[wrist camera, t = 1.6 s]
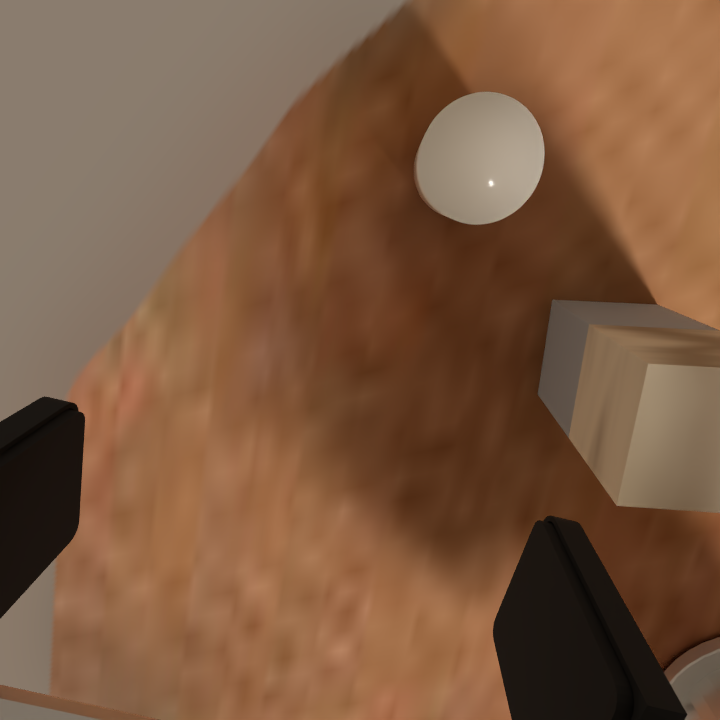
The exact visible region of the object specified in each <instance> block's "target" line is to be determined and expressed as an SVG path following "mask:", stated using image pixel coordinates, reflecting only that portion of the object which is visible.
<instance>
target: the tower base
mask: <svg viewBox="0 0 720 720" xmlns="http://www.w3.org/2000/svg"><path fill="white" fill-rule="evenodd" d="M589 324H595V325H616V326H636V327H656V328H676V329H697V330H717V329H715V328H712V327H710V326H708V325H705V324H703V323H700V322H698V321H696V320H693V319H691V318H689V317H686V316H684V315H681V314H679V313H677V312H674V311H672V310H669V309H667V308H665V307H662V306H660V305H657V304H636V303H614V302H593V301H572V300H552V305H551V311H550V318H549V324H548V331H547V337H546V344H545V350H544V357H543V363H542V370H541V376H540V383H539V389H538V396H539V397H540V398H541V400H542V401H543V403H544V404H545V405H546V407H547V408H548V410H549V411H550V413H551V414H552V415H553V417H554V418H555V420H556V421H557V422H558V424H559V425H560V427H561V428H562V429H563V431H564V432H565V434H566V435H567V437H568V438H569V432H570V427H571V421H572V416H573V410H574V405H575V399H576V394H577V388H578V383H579V377H580V371H581V366H582V360H583V355H584V349H585V344H586V338H587V333H588V327H589ZM717 331H719V330H717Z"/></svg>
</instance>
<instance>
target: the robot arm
mask: <svg viewBox="0 0 720 720" xmlns="http://www.w3.org/2000/svg"><path fill="white" fill-rule="evenodd" d="M84 428H85V416H84V414H83V413H82V412H78V407H77V405H76V404H75V403H71V402H67V401H63V400H58V399H54V398H50V397H42V398H40V399H38V400H36V401H35V402H33V403H31V404H30V405H28V406H26V407H25V408H23V409H21V410H20V411H18V412H16V413H14V414H13V415H11V416H9V417H8V418H6V419H4V420H3V421H1V422H0V618H1V617H2V616H3V615H4V614H5V613H6V612H7V611H8V610H9V608H10V607H11V606H12V605H13V604H14V603H15V602H16V601H17V600H18V598H20V596H21V595H22V594H23V593H24V592H25V591H26V590H27V589H28V588H29V586H30V585H31V584H32V583H33V582H34V581H35V580H36V579H37V578H38V577H39V576H40V574H41V573H42V572H43V571H44V570H45V569H46V568H47V567H48V566H49V565H50V563H51V562H52V561H53V560H54V559H55V558H56V557H57V556H58V555H59V554H60V553H61V551H62V550H63V549H64V548H65V547H66V546H67V545H68V544H69V543H70V541H71V540H72V539H73V537H74V535H75V533H76V531H77V528H78V525H79V514H80V496H81V479H82V462H83V445H84ZM493 638H494V643H495V647H496V652H497V656H498V661H499V665H500V669H501V674H502V678H503V683H504V687H505V691H506V696H507V700H508V705H509V709H510V713H511V718H512V720H720V637H718V638H715V639H712V640H709V641H706V642H703V643H701V644H699V645H698V646H696V647H694V648H692V649H690V650H688V651H687V652H685V653H684V654H683V655H681V656H680V657H678V658H677V659H676V660H675V661H674V662H673V663H672V664H671V665H670V666H669V667H668V668H667V669H666V670H665V672H663V670H662V668H661V667H660V665H659V663H658V661H657V660H656V658H655V656H654V654H653V653H652V651H651V649H650V647H649V645H648V644H647V642H646V640H645V638H644V637H643V635H642V633H641V631H640V629H639V628H638V626H637V624H636V622H635V621H634V619H633V617H632V615H631V614H630V612H629V610H628V608H627V606H626V605H625V603H624V601H623V599H622V598H621V596H620V594H619V592H618V590H617V589H616V587H615V585H614V583H613V582H612V580H611V578H610V576H609V575H608V573H607V571H606V569H605V567H604V566H603V564H602V562H601V560H600V559H599V557H598V555H597V553H596V551H595V550H594V548H593V546H592V544H591V543H590V541H589V539H588V537H587V536H586V534H585V532H584V530H583V528H582V527H581V525H580V524H579V523H578V522H575V521H571V520H567V519H562V518H558V517H554V516H547V517H546V518H545V519H544V521H540V520H539V521H537V522H536V523H535V525H534V527H533V529H532V531H531V534H530V536H529V539H528V541H527V543H526V546H525V548H524V551H523V553H522V555H521V558H520V560H519V563H518V565H517V567H516V570H515V572H514V575H513V577H512V579H511V582H510V584H509V587H508V589H507V591H506V594H505V596H504V599H503V601H502V604H501V606H500V608H499V611H498V613H497V616H496V618H495V621H494V626H493ZM0 720H159V719H154V718H150V717H145V716H141V715H136V714H132V713H127V712H123V711H118V710H114V709H109V708H104V707H100V706H95V705H91V704H86V703H82V702H77V701H72V700H68V699H63V698H59V697H54V696H49V695H45V694H40V693H36V692H31V691H26V690H22V689H17V688H13V687H8V686H4V685H0Z"/></svg>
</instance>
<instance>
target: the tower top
mask: <svg viewBox="0 0 720 720" xmlns="http://www.w3.org/2000/svg"><path fill="white" fill-rule="evenodd" d="M569 439H570V441H571V442H572V444H573V445H574V446H575V448H576V449H577V451H578V452H579V453H580V455H581V456H582V458H583V459H584V460H585V462H586V463H587V465H588V466H589V468H590V469H591V470H592V472H593V473H594V475H595V476H596V477H597V479H598V480H599V482H600V483H601V484H602V486H603V487H604V489H605V490H606V492H607V493H608V494H609V496H610V497H611V499H612V500H613V501H614V503H615V504H616V506H627V507H641V508H656V509H670V510H685V511H699V512H714V513H720V331H717V330H697V329H676V328H656V327H636V326H616V325H595V324H589V327H588V333H587V338H586V344H585V349H584V355H583V360H582V366H581V371H580V377H579V383H578V388H577V394H576V399H575V405H574V410H573V416H572V421H571V427H570V432H569Z"/></svg>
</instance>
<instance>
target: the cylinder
mask: <svg viewBox="0 0 720 720" xmlns="http://www.w3.org/2000/svg"><path fill="white" fill-rule="evenodd" d="M544 156H545V150H544V141H543V136H542V133H541V130H540V127H539V125H538V123H537V121H536V120H535V118H534V117H533V115H532V114H531V112H530V111H529V110H528V109H527V108H526V107H525V106H524V105H522V104H521V103H520V102H519V101H517V100H515V99H514V98H512V97H509V96H507V95H504V94H500V93H496V92H477V93H472V94H469V95H466V96H463V97H461V98H459V99H457V100H455V101H453V102H452V103H450V104H449V105H447V106H446V107H445V108H444V109H443V110H442V111H440V113H439V114H438V115H437V116H436V117H435V118H434V120H433V121H432V123H431V124H430V125H429V127H428V129H427V131H426V133H425V135H424V137H423V139H422V142H421V144H420V146H419V148H418V151H417V153H416V157H415V161H414V181H415V185H416V188H417V190H418V193H419V195H420V196H421V198H422V199H423V201H424V202H425V203H426V204H427V205H428V206H429V207H430V208H431V209H432V210H434V211H435V212H437V213H439V214H441V215H444V216H446V217H448V218H451V219H453V220H456V221H458V222H461V223H465V224H473V225H480V224H488V223H493V222H496V221H499V220H501V219H504V218H506V217H507V216H509V215H511V214H513V213H514V212H515V211H516V210H518V209H519V208H520V207H521V206H522V205H523V204H524V203H525V202H526V201H527V200H528V199H529V197H530V196H531V195H532V193H533V191H534V190H535V188H536V186H537V184H538V182H539V180H540V177H541V174H542V170H543V165H544Z"/></svg>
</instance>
